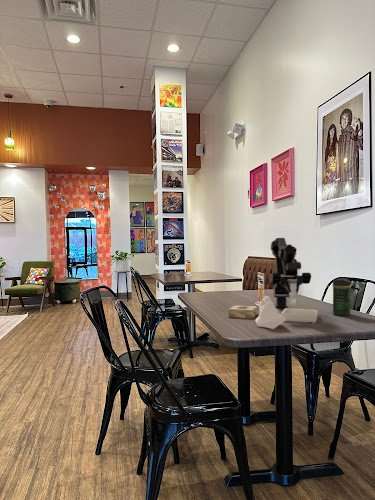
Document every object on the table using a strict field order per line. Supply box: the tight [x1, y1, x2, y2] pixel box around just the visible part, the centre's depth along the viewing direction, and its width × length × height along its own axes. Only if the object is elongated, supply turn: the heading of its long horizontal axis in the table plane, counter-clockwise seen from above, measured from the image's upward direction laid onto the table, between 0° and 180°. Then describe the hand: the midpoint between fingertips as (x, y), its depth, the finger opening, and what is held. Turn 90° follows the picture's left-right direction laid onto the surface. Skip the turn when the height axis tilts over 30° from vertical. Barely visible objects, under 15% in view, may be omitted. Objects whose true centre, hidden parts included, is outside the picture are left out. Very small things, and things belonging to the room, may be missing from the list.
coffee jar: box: [332, 277, 351, 316], centre depth 189 cm, size 10×8×19 cm
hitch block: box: [228, 305, 258, 319], centre depth 190 cm, size 12×12×4 cm
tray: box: [280, 307, 319, 324], centre depth 179 cm, size 16×16×4 cm
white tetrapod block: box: [254, 295, 287, 330], centre depth 166 cm, size 12×15×14 cm
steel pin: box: [287, 279, 298, 306], centre depth 179 cm, size 4×4×12 cm
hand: (293, 291), depth 178 cm, fingers closed on steel pin, 4 cm apart
